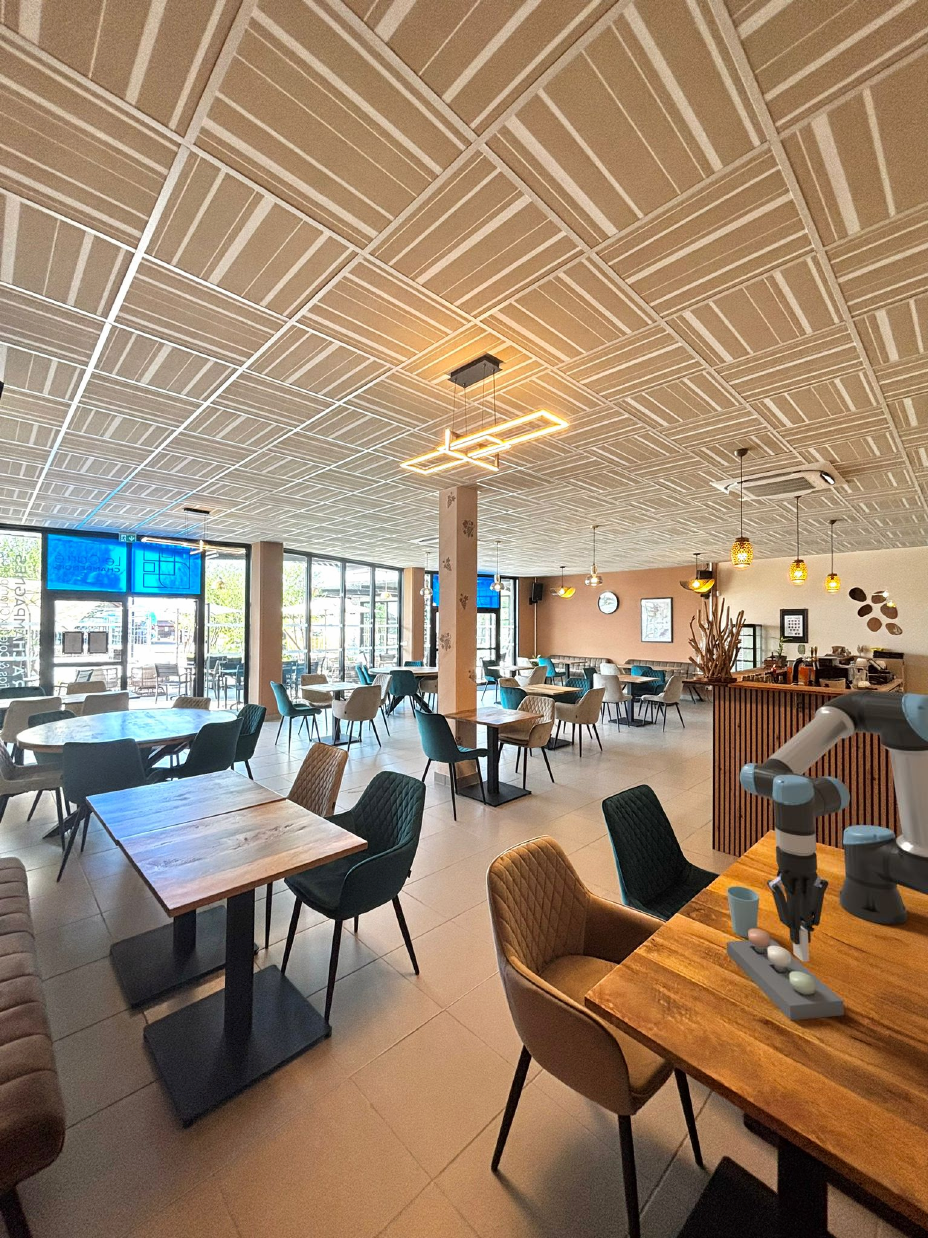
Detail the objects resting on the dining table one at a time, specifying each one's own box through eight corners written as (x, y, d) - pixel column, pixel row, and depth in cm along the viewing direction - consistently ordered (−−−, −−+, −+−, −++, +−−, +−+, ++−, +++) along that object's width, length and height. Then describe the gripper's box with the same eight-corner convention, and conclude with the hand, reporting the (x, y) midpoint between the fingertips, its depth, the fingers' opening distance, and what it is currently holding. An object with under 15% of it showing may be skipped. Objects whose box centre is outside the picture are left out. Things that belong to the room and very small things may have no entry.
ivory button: (782, 962, 120) (781, 945, 120) (796, 975, 115) (795, 957, 115) (763, 964, 119) (762, 946, 119) (777, 977, 115) (776, 959, 115)
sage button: (804, 988, 113) (803, 970, 113) (821, 1004, 108) (820, 985, 108) (785, 990, 112) (784, 972, 112) (800, 1006, 108) (799, 986, 108)
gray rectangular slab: (771, 950, 129) (771, 938, 129) (844, 1015, 107) (843, 1000, 107) (727, 954, 128) (726, 942, 128) (790, 1020, 106) (789, 1006, 106)
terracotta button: (762, 944, 127) (761, 928, 127) (775, 955, 122) (774, 939, 122) (744, 945, 126) (744, 929, 126) (757, 957, 122) (756, 940, 122)
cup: (767, 936, 134) (765, 896, 135) (748, 944, 131) (746, 903, 132) (741, 921, 141) (740, 883, 142) (722, 929, 138) (720, 890, 139)
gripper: (810, 839, 115) (815, 944, 115) (756, 843, 114) (761, 949, 114) (837, 854, 108) (843, 966, 107) (779, 858, 107) (785, 972, 106)
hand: (801, 957), depth 110 cm, fingers closed
